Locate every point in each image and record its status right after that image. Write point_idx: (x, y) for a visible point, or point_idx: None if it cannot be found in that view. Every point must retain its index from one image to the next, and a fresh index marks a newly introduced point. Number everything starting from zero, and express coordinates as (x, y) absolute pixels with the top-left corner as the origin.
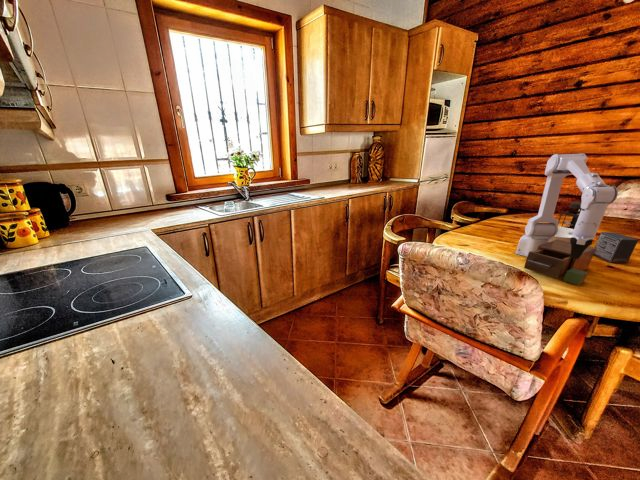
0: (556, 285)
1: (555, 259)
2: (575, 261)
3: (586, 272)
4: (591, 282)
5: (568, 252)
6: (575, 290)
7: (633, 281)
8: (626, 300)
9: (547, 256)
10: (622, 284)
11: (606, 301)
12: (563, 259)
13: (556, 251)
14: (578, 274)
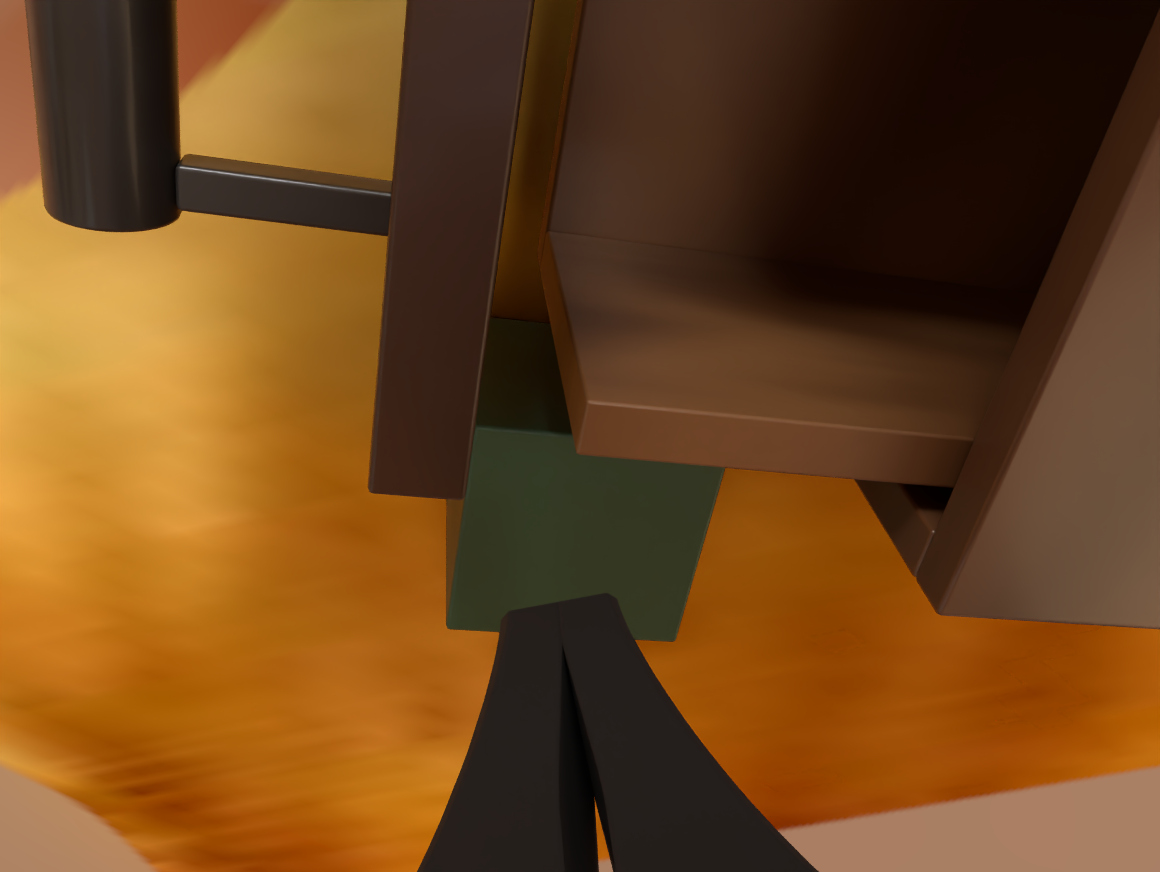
0: (164, 307)
1: (387, 286)
2: (881, 505)
3: (640, 633)
4: (739, 558)
5: (1085, 423)
6: (223, 523)
7: (1097, 771)
8: (420, 852)
9: (428, 44)
10: (917, 742)
11: (196, 779)
12: (583, 411)
13: (1130, 119)
14: (453, 581)
